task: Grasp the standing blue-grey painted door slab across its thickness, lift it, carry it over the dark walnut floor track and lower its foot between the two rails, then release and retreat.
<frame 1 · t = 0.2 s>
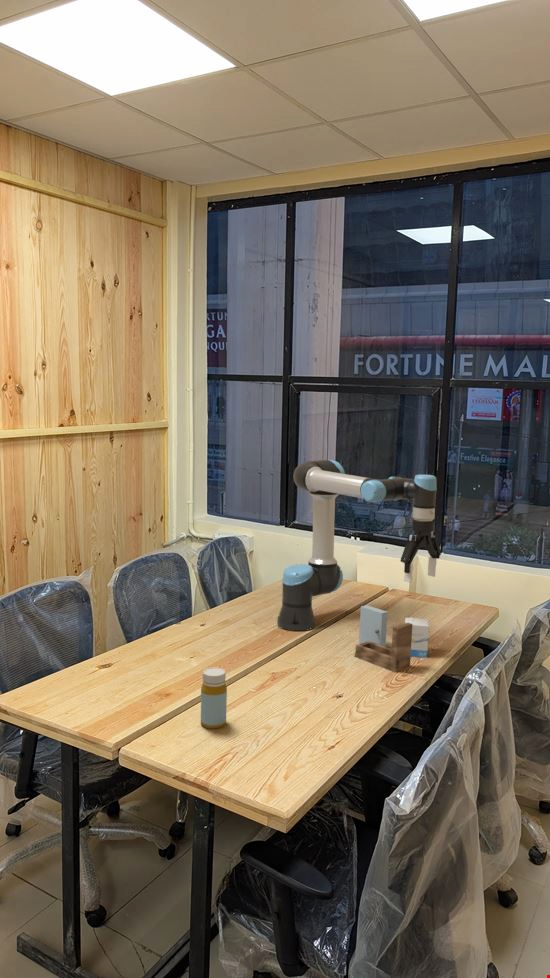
hand: (419, 578, 249), 27 cm above the table, fingers open, 13 cm apart
bottle: (213, 724, 195), on the table
ink box: (415, 653, 253), on the table
track: (381, 661, 244), on the table
door: (372, 646, 259), on the table
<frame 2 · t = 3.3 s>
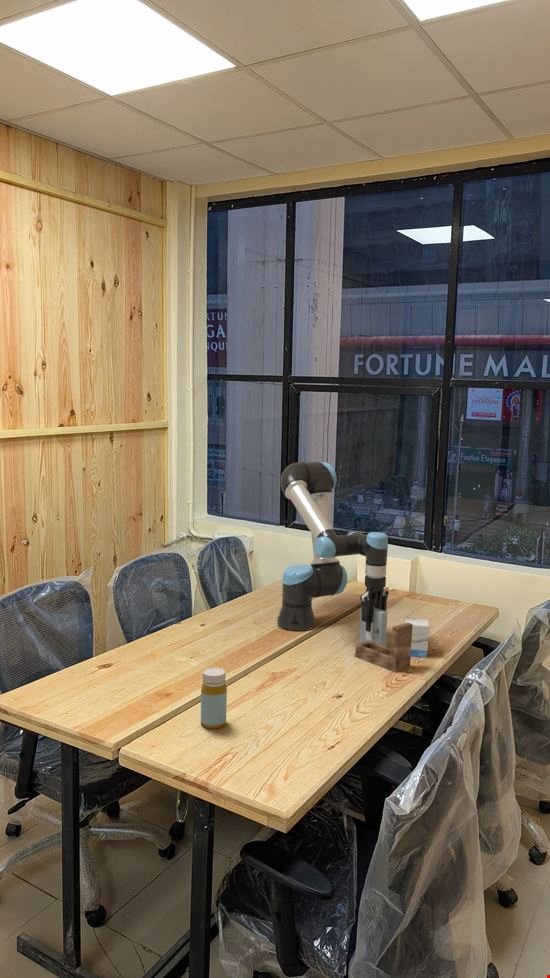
hand: (372, 638, 258), 3 cm above the table, fingers closed on door, 3 cm apart
door: (372, 646, 259), on the table, touching gripper
everything else where it was.
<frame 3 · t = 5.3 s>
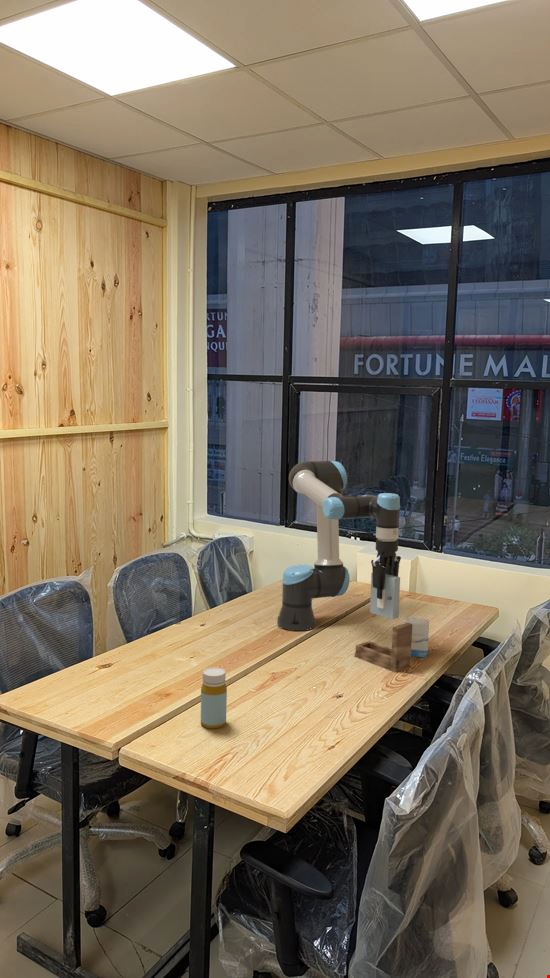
hand: (384, 606, 243), 19 cm above the table, fingers closed on door, 3 cm apart
door: (384, 615, 243), point 16 cm above the table, touching gripper
everything else where it was.
when the fingers open (5 cm above the table, at t = 7.4 s): door drops 1 cm, resting on track.
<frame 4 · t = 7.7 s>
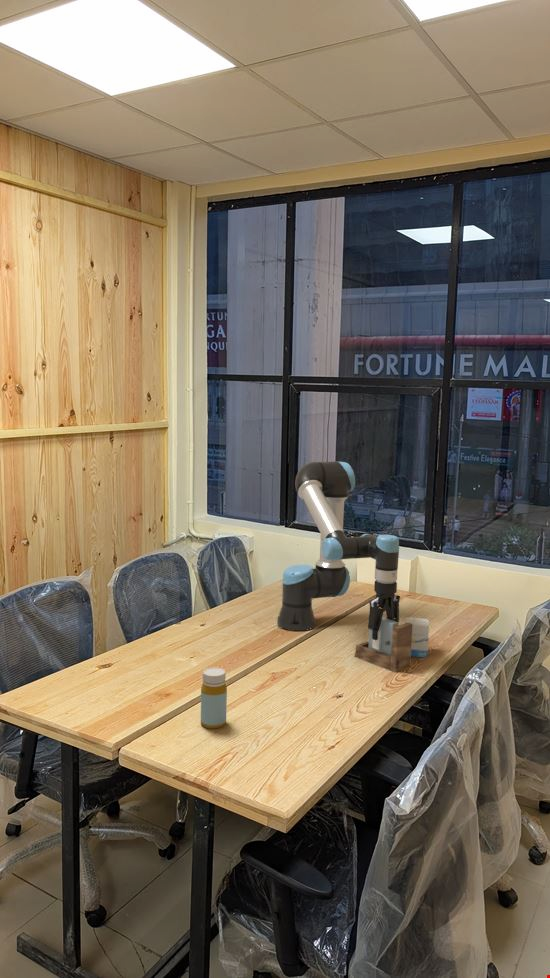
hand: (382, 646, 243), 6 cm above the table, fingers open, 6 cm apart
door: (381, 658, 244), point 1 cm above the table, touching track
everything else where it was.
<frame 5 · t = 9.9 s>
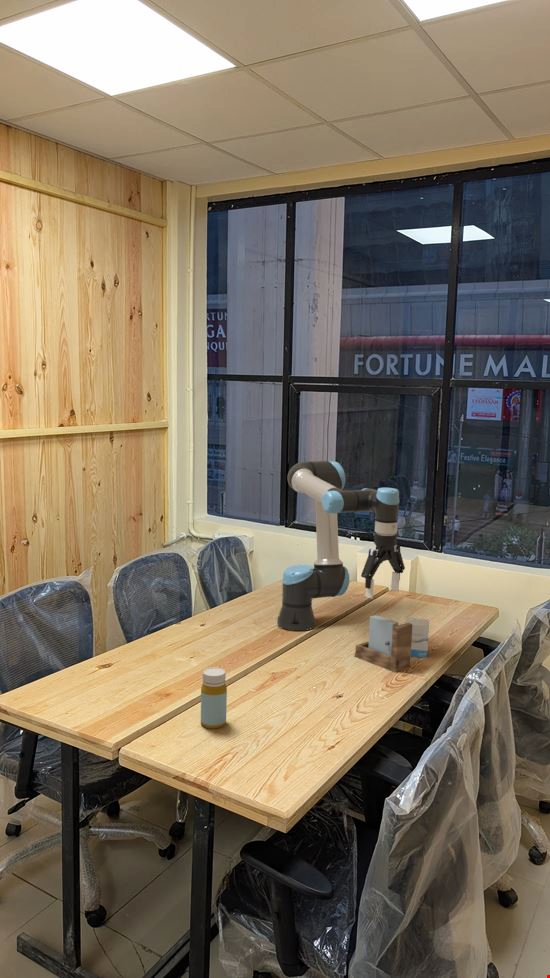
hand: (382, 593, 244), 23 cm above the table, fingers open, 13 cm apart
nothing on the table moved.
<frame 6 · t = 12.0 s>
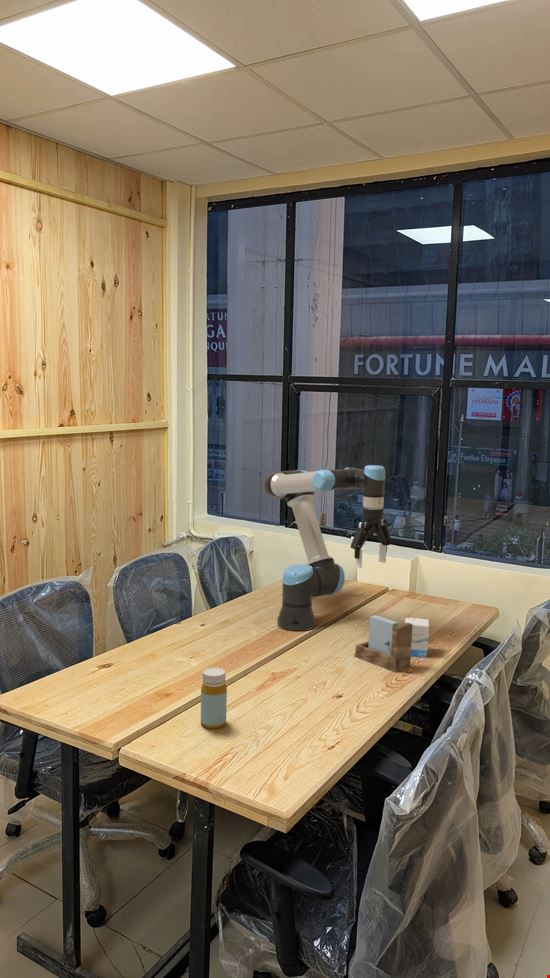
hand: (370, 564, 262), 29 cm above the table, fingers open, 13 cm apart
nothing on the table moved.
at the end: door inside the target area on the track (0.0 cm from its centre), point 1.0 cm above the track's base; door tilted 0°; the gripper is holding nothing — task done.
